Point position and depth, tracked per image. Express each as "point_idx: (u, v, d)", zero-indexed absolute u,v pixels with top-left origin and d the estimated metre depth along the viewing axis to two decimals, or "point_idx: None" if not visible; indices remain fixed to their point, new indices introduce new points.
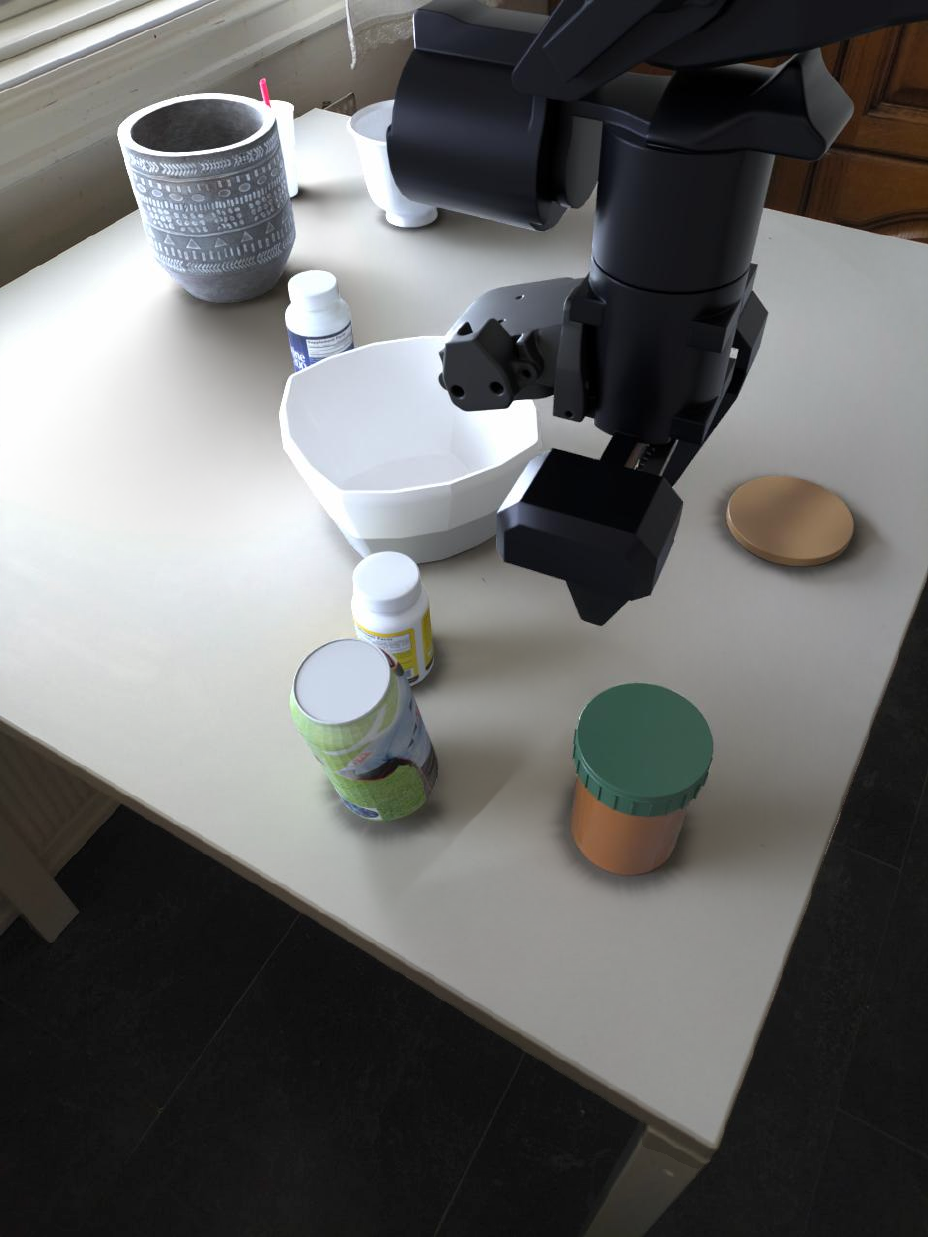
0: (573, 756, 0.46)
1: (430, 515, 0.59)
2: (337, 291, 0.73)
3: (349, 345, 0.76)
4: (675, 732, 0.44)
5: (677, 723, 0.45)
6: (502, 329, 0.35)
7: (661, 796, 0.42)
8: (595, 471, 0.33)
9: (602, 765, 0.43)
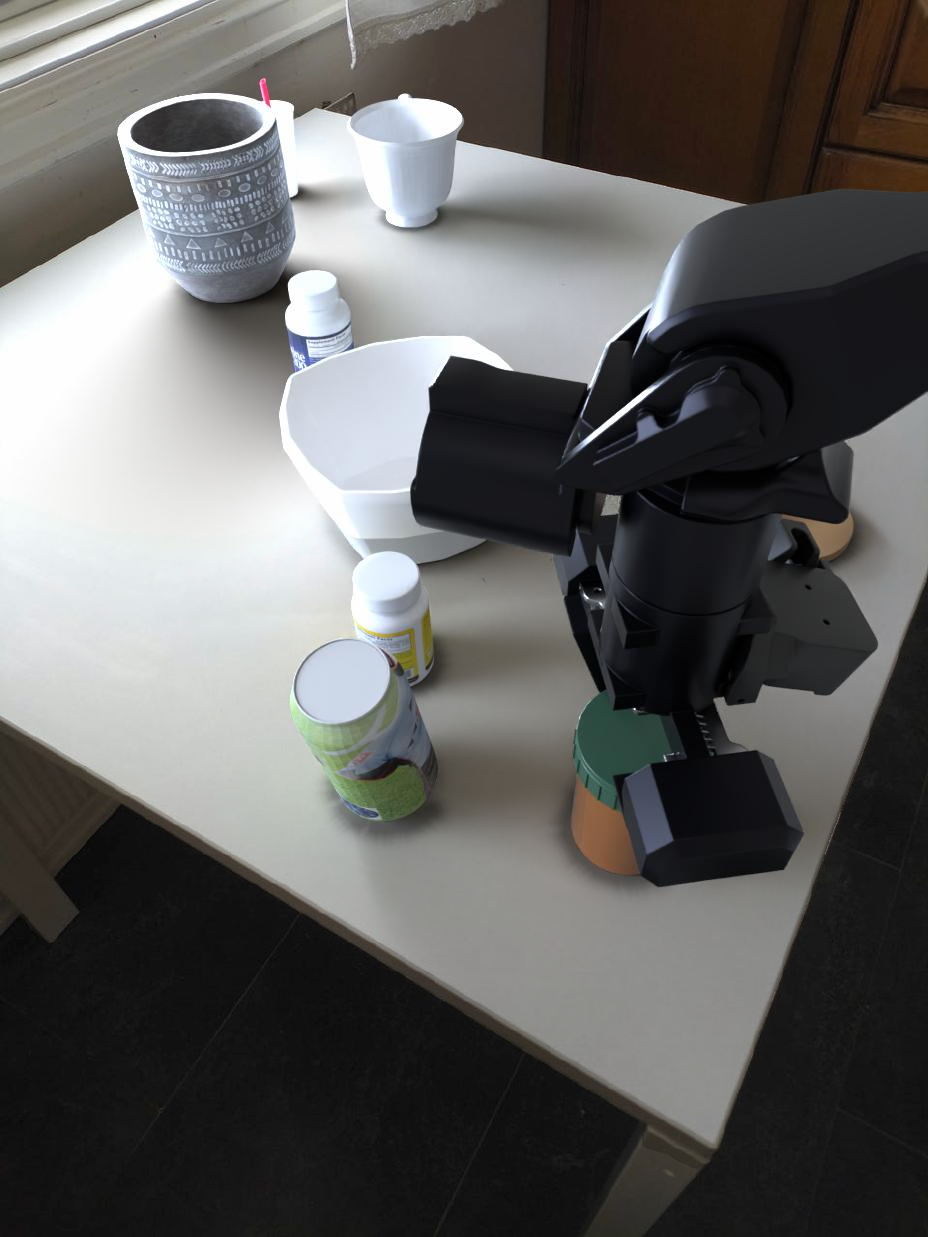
0: (573, 756, 0.46)
1: None
2: (337, 291, 0.73)
3: (349, 345, 0.76)
4: None
5: None
6: (781, 551, 0.39)
7: None
8: None
9: (602, 765, 0.43)
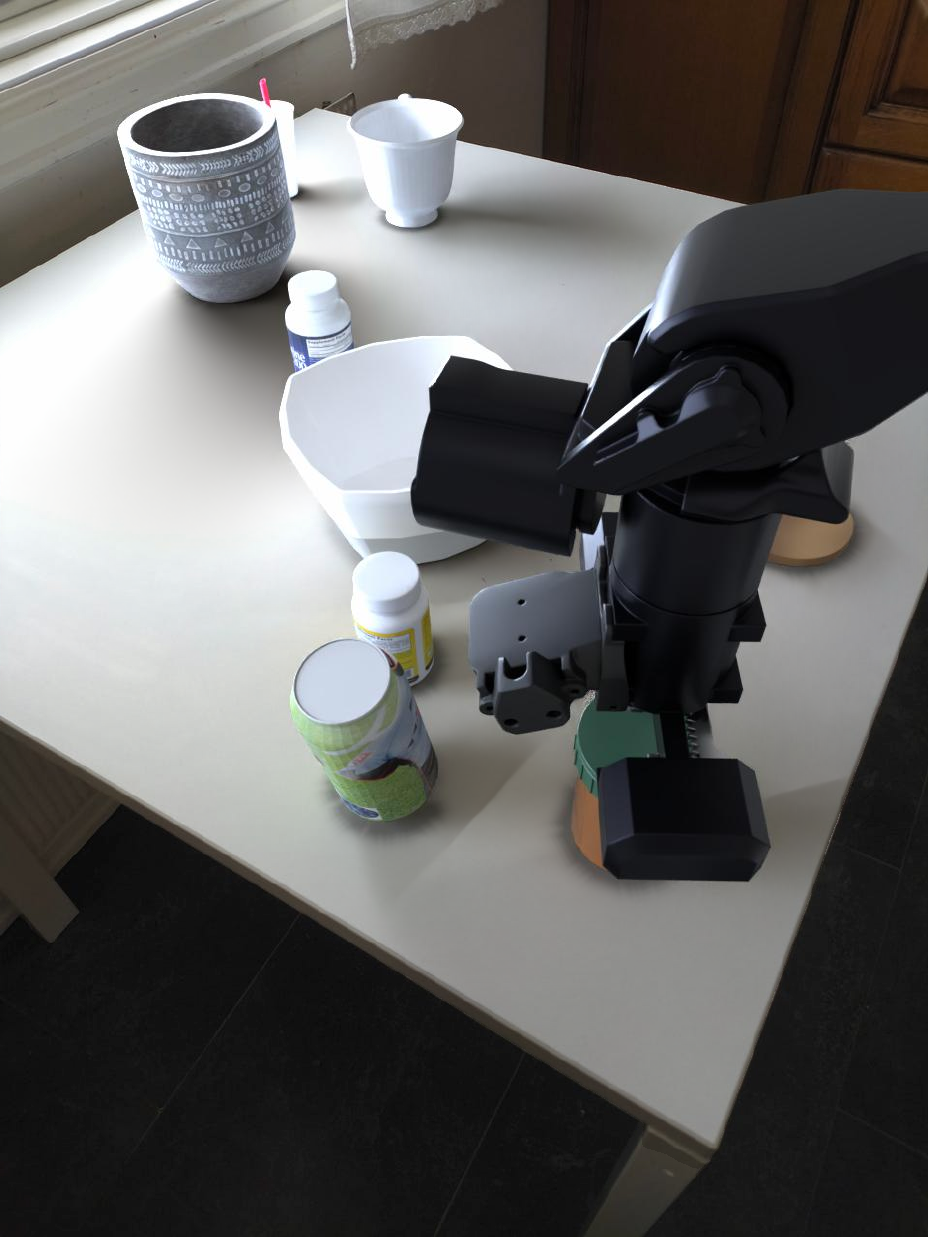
0: None
1: None
2: (337, 291, 0.73)
3: (349, 345, 0.76)
4: (613, 737, 0.44)
5: (609, 745, 0.44)
6: (542, 658, 0.36)
7: None
8: (678, 772, 0.35)
9: None
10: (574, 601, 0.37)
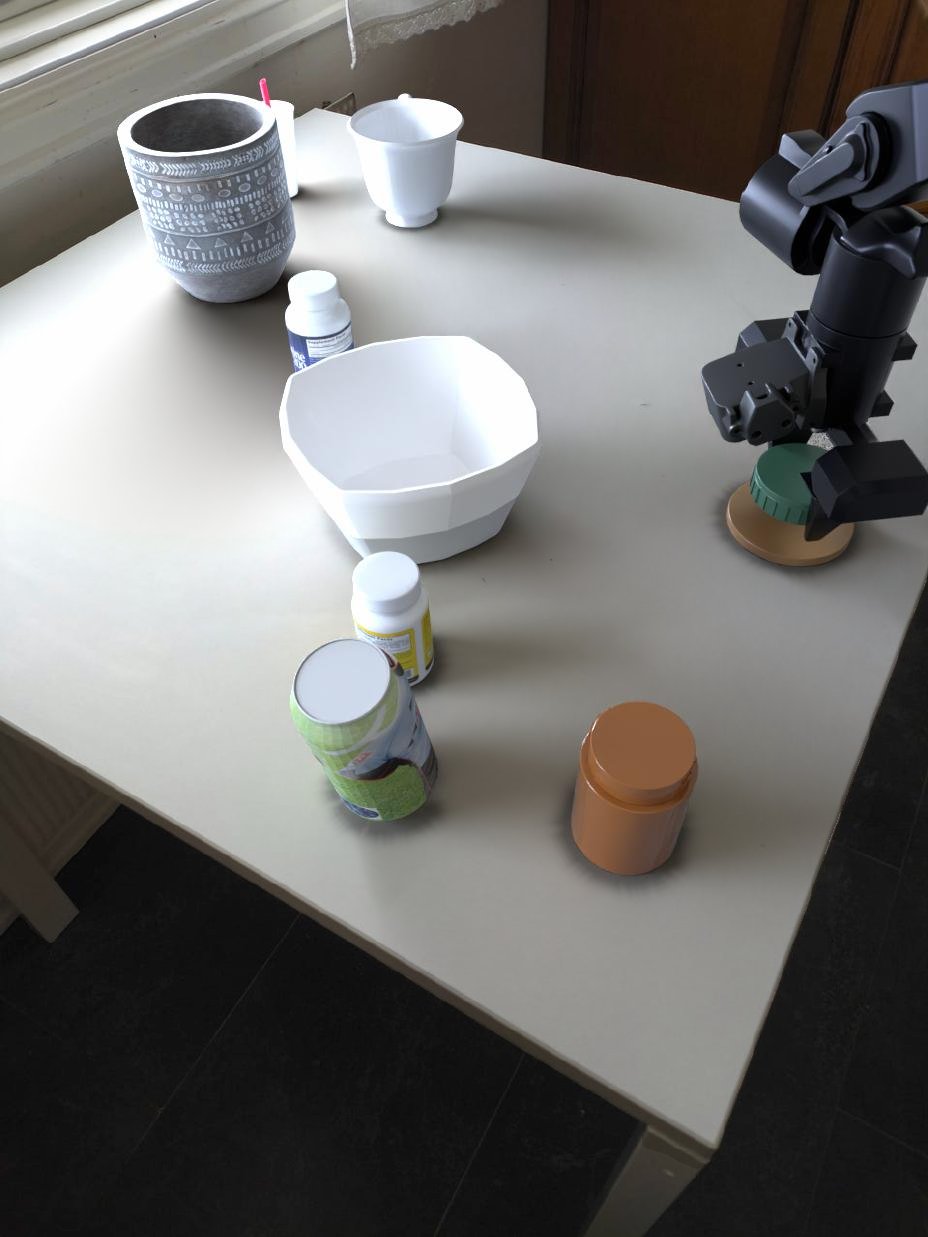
0: None
1: (430, 515, 0.59)
2: (337, 291, 0.73)
3: (349, 345, 0.76)
4: (783, 475, 0.63)
5: (782, 480, 0.63)
6: (774, 387, 0.54)
7: (788, 443, 0.65)
8: (870, 450, 0.54)
9: None
10: (779, 356, 0.56)
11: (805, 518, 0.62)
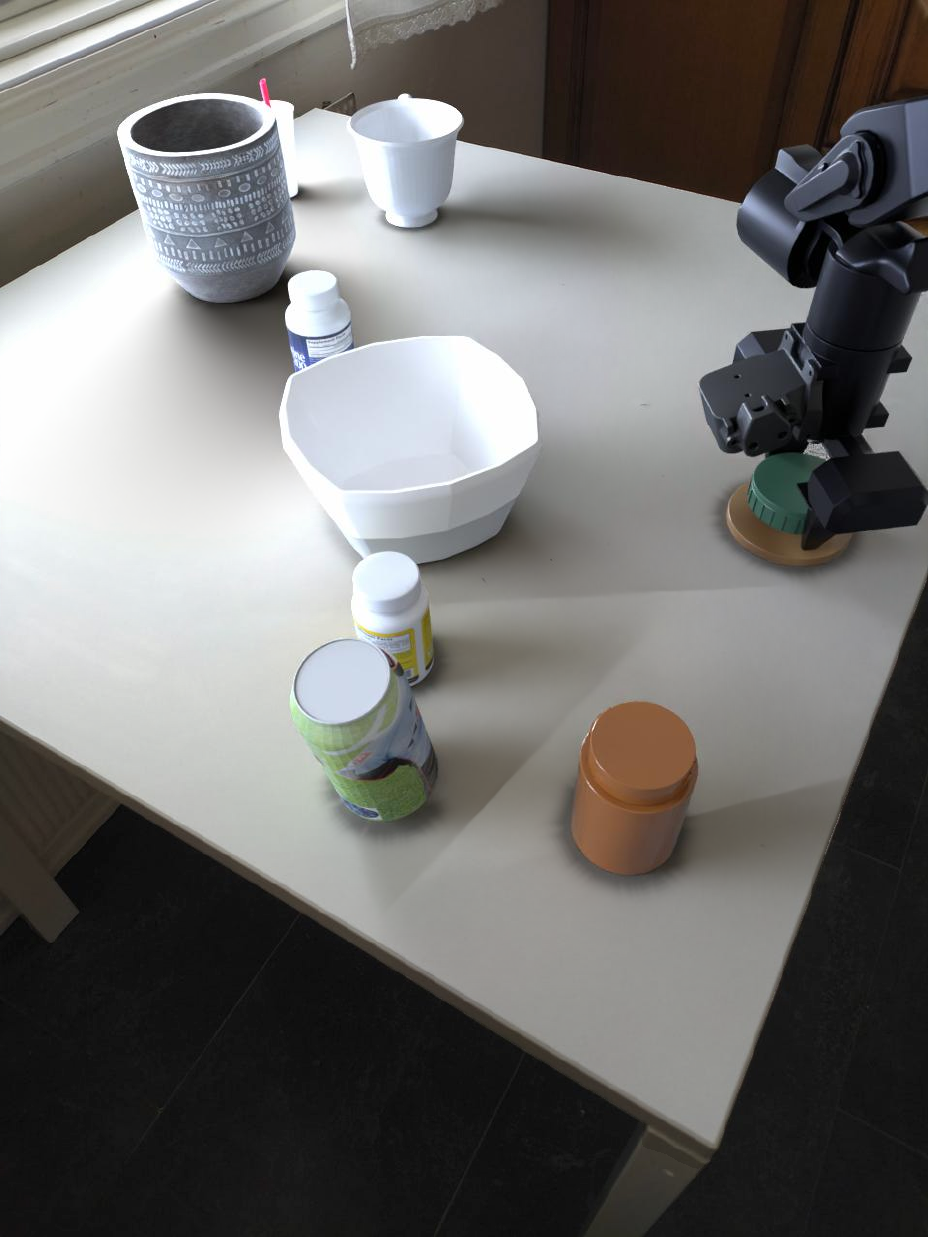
0: None
1: (430, 515, 0.59)
2: (337, 291, 0.73)
3: (349, 345, 0.76)
4: (780, 484, 0.64)
5: (779, 489, 0.63)
6: (771, 399, 0.55)
7: None
8: (865, 461, 0.55)
9: None
10: (776, 368, 0.57)
11: (802, 527, 0.63)
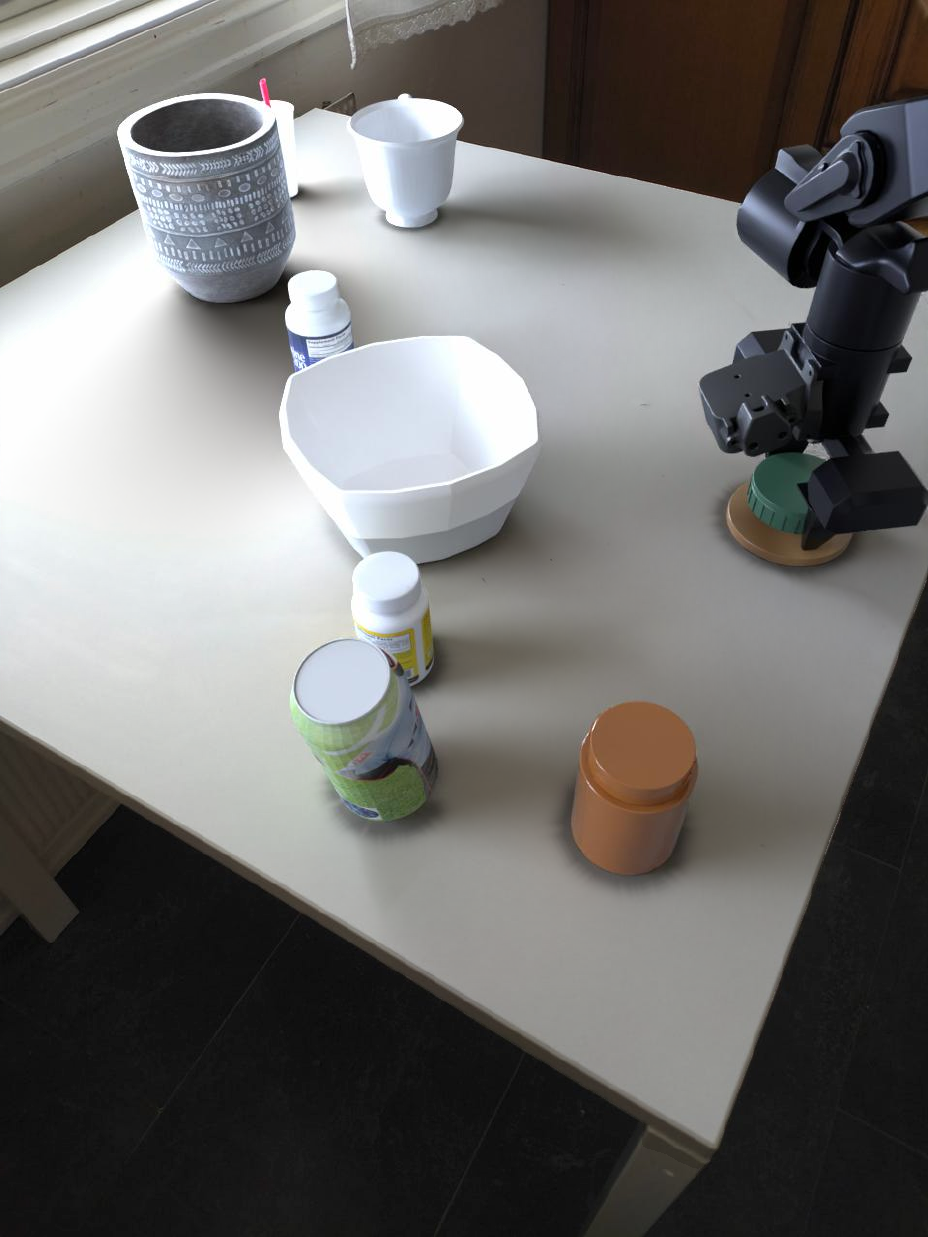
0: None
1: (430, 515, 0.59)
2: (337, 291, 0.73)
3: (349, 345, 0.76)
4: (780, 484, 0.64)
5: (779, 489, 0.63)
6: (771, 399, 0.55)
7: None
8: (865, 461, 0.55)
9: None
10: (776, 368, 0.57)
11: (802, 527, 0.63)
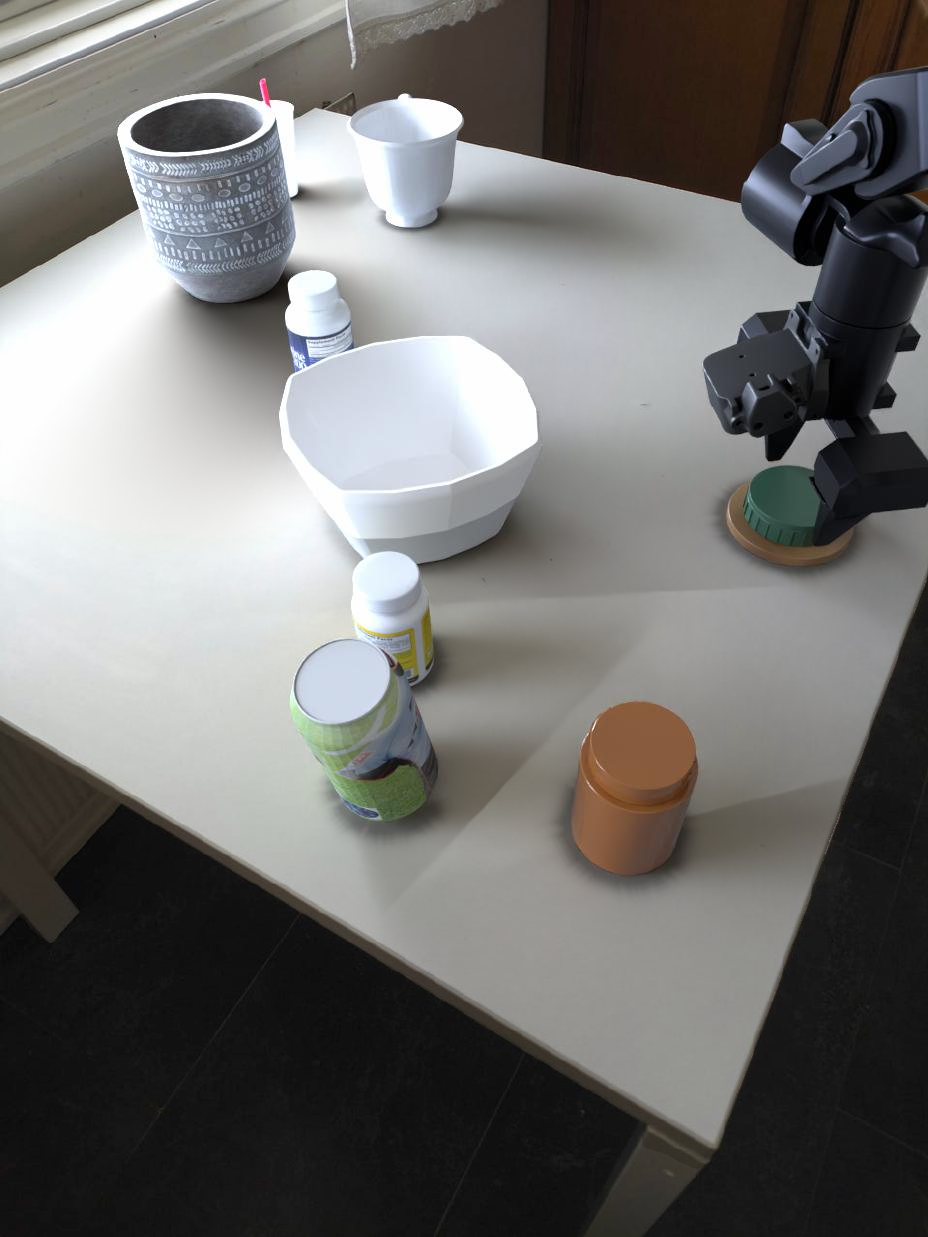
0: None
1: (430, 515, 0.59)
2: (337, 291, 0.73)
3: (349, 345, 0.76)
4: (775, 497, 0.65)
5: (774, 502, 0.64)
6: (777, 378, 0.54)
7: None
8: (873, 442, 0.54)
9: None
10: (782, 347, 0.56)
11: (796, 539, 0.64)
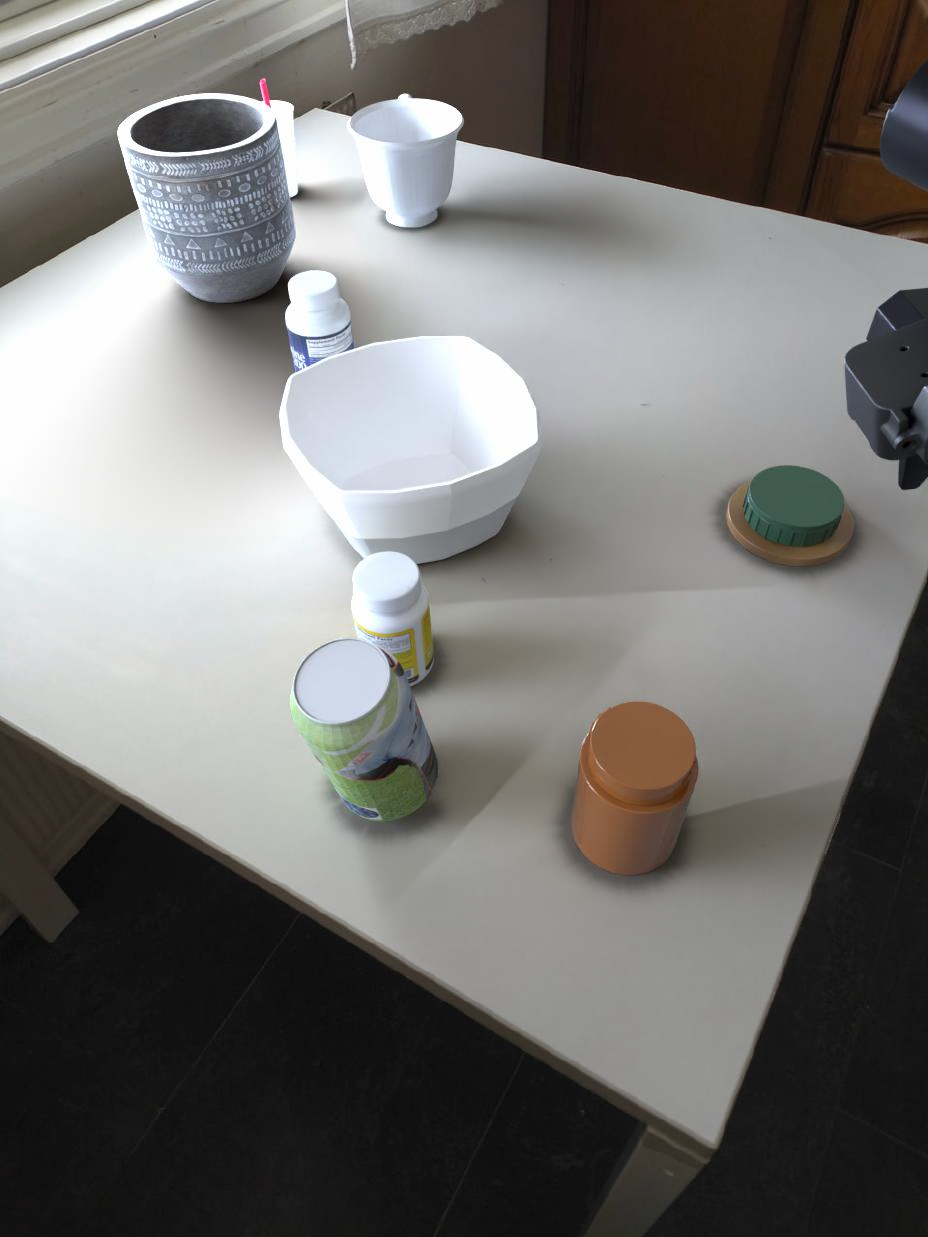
0: None
1: (430, 515, 0.59)
2: (337, 291, 0.73)
3: (349, 345, 0.76)
4: (775, 497, 0.65)
5: (774, 502, 0.64)
6: None
7: None
8: None
9: (821, 479, 0.66)
10: None
11: (796, 539, 0.64)
